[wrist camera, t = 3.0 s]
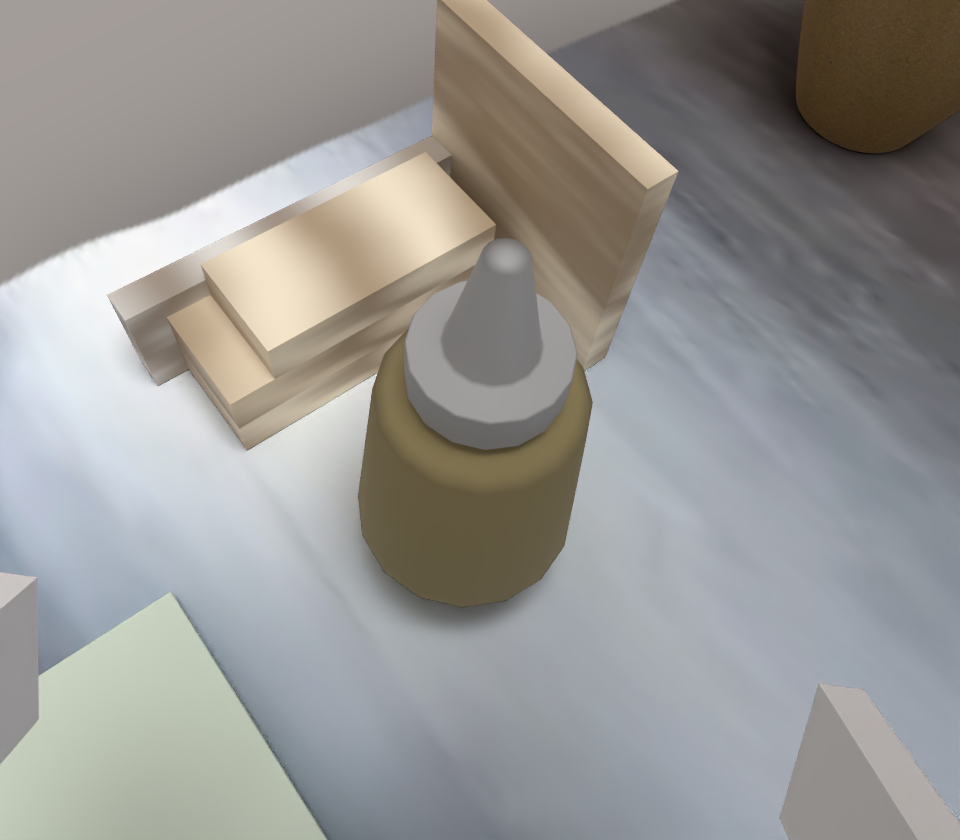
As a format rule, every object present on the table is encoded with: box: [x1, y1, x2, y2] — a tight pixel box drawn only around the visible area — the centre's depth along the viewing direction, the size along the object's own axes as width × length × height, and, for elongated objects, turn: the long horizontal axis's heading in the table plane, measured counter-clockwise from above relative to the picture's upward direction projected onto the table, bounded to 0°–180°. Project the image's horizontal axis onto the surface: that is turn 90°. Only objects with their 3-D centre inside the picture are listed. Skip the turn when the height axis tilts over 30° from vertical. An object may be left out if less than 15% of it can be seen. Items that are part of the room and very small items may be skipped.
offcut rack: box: [107, 0, 678, 450], centre depth 33 cm, size 18×12×12 cm
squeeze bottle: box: [358, 238, 593, 607], centre depth 27 cm, size 8×8×18 cm
